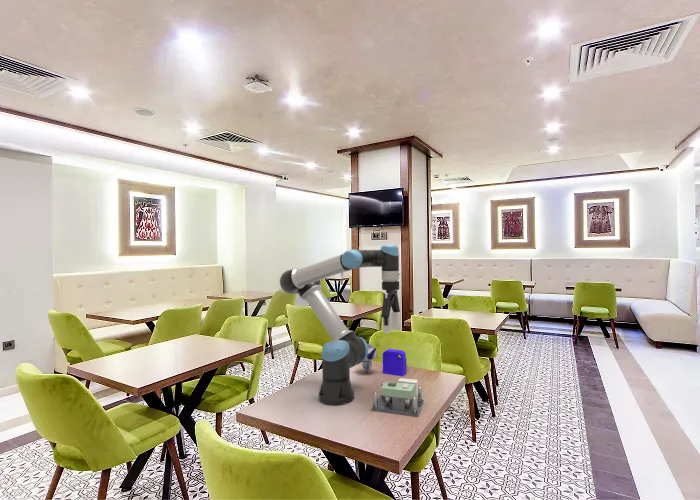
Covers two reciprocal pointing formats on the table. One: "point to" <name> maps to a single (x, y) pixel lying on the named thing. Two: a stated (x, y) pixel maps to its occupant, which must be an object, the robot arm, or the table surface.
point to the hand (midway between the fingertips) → (391, 330)
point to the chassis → (398, 404)
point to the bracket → (394, 362)
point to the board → (398, 390)
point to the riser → (410, 381)
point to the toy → (369, 358)
